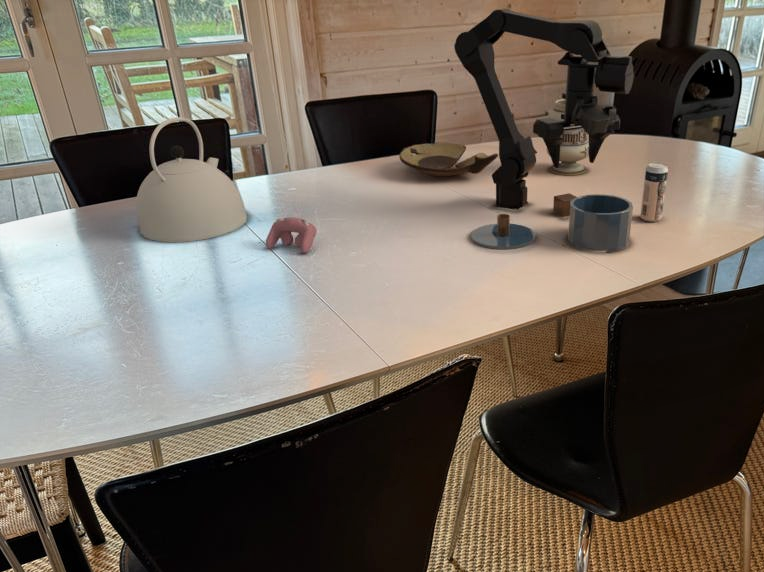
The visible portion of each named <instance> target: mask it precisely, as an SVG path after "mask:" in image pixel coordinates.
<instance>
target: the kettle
mask: <svg viewBox="0 0 764 572" xmlns="http://www.w3.org/2000/svg"><path fill="white" fill-rule="evenodd" d="M177 122H185V123H187V124H189V125H190V126H191V127H192V129H193V130H194V132H195V134H196V138H197V141H198V149H199V154H198V155H199V156H198V159H193V158H183V157H184V155H185V149H184V148H183V147H182V146H180V145H173V146H171V148H170V154H171V156H172V157H173V158H175V159H172V160H169V161H166V162H163V163H161V164H159V165H157V163H156V158H155V142H156V139H157V137H158V134H159V132H160V131H161V130H162V129H163V128H164V127H165V126H168V125H170V124H173V123H177ZM148 146H149V160H150V163H151V164H150V165H151V167H152V169H153V170H152V171H150V172H149V173H148V175H147V176H146V177H145V178H144V180H143V181H142V182H141V184H140V186H139V189H138V191H137V195H136V198H135V199H136V201H135V213H136V221H137V223H138V227H139V232H140V233H139V234H141V236H142V237H144V238H145V239H148V240H151V241H156V242H162V243H163V242H164V243H186V242H195V241H201V240H207V239H212V238H216V237H220V236H224V235H226V234H228V233H231V232H233V231H235V230H237V229H239V228H241V227H242V226H243V225H245V224H246V222H247V221H248V215H247V211H246V207H245V204H244V200H243V198H242V195H241V193H240V190H239V188H238V187H237V186H236V184H235V183H234V182H233V180H232V179H231V178H230V177H229V176H227V174H226V173H224V172H223V171H221V170H220V169H219V168H218V164H219V158H216V157H208V158H207V160H206V161H204V142H203V137H202V135H201V132H200V130H199V128H198V127H197V125H196V124H195V122H194V121H192V120H191V119H190V118H187V117H183V116H177V117H171V118H169V119H166V120H163V121H161V122H160V123H159V124H158V125H157V126H156V128H155V129H154V130H153V132H152V134H151V137H150V140H149V145H148Z"/></svg>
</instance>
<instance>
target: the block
mask: <svg viewBox="0 0 764 572" xmlns="http://www.w3.org/2000/svg"><path fill="white" fill-rule="evenodd" d="M576 197H577V196H576V195H574V194H572V193H563V194H558V195H553V205H552V212H553V213H555V214H556V215H558V216H560V217H562V218H566V217H569V212H570V201H572V200H573V199H574V198H576Z"/></svg>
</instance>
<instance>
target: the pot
mask: <svg viewBox="0 0 764 572" xmlns="http://www.w3.org/2000/svg"><path fill="white" fill-rule="evenodd" d="M633 210H634V206H633V202H631V201H630V200H629V199H626V198H625V197H621V196H617V195H611V194H603V193H602V194H600V193H599V194H597V193H593V194H586V195H579V196H576V198H574V199H573V200H572V201H570V212H569V216H568V228H567V229H568V232H567V241H568V242H569V243H570V244H571V245H573V246H575V247H578V248H580V249H585V250H589V251H590V250H591V251H605V253H606V254H607V253H616V252H619V251H622V250H624V249H626V248H627V247H628V246H629V243H630V238H631V237H630V236H631V229H632V228H631V227H632V219H633Z"/></svg>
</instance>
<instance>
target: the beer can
mask: <svg viewBox="0 0 764 572" xmlns="http://www.w3.org/2000/svg"><path fill="white" fill-rule="evenodd" d="M668 173H669V169H668V165H667V164H665V163H661V162H651V163H648V165H647V166H646V168H645V173H644V183H643V191H642V197H641V199H642V200H641V207H640V214H639V217H640V219H641V220H643V221H645V222H649V223H655V222H658V221H659V220H661V219H662V218H663V211H664V204H665V195H666V190H667V189H666V187H667V181H668Z"/></svg>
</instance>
